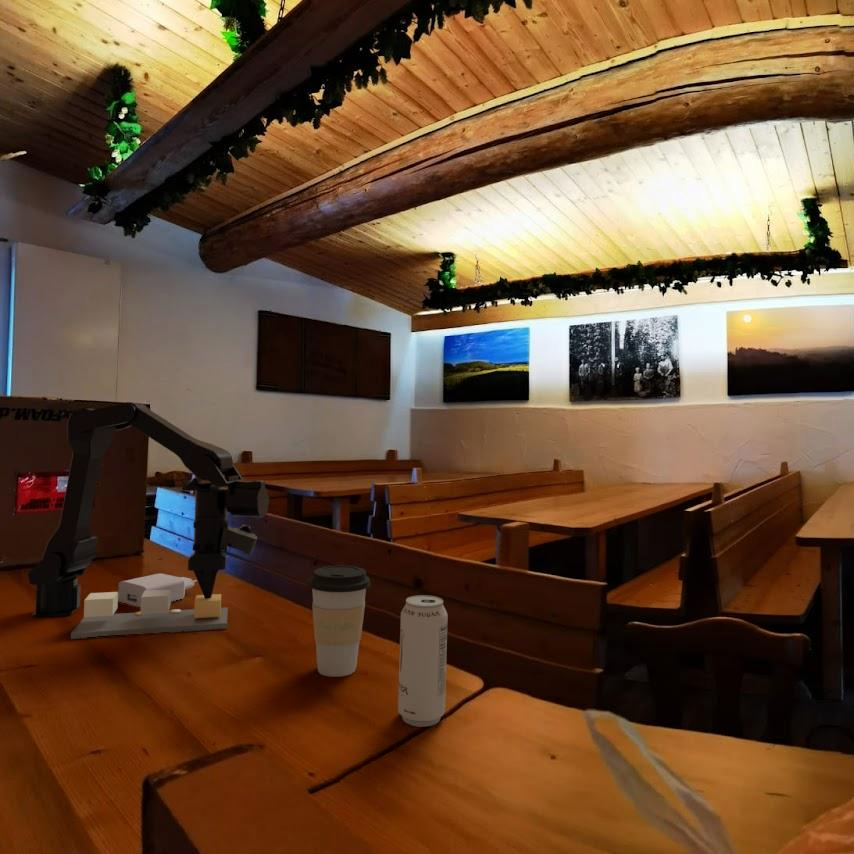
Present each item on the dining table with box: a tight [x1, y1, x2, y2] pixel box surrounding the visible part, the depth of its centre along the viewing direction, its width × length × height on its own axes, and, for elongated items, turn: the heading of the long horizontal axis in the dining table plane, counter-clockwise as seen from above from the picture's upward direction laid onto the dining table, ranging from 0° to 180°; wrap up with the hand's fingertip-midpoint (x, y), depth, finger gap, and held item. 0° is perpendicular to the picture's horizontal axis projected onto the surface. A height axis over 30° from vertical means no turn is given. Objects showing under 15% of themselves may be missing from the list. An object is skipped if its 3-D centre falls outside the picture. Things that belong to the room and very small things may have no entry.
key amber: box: [193, 593, 222, 618], centre depth 112 cm, size 4×4×3 cm
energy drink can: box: [397, 594, 449, 728], centre depth 76 cm, size 6×6×15 cm
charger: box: [117, 573, 198, 607], centre depth 127 cm, size 5×9×15 cm
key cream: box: [83, 591, 119, 618], centre depth 106 cm, size 4×4×3 cm
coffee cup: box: [307, 565, 371, 678], centre depth 91 cm, size 9×9×15 cm
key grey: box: [140, 589, 172, 614], centre depth 109 cm, size 4×4×3 cm
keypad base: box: [70, 607, 229, 640], centre depth 109 cm, size 25×10×1 cm, turn 108°
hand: (208, 598), depth 112 cm, fingers closed, pressing on key amber
